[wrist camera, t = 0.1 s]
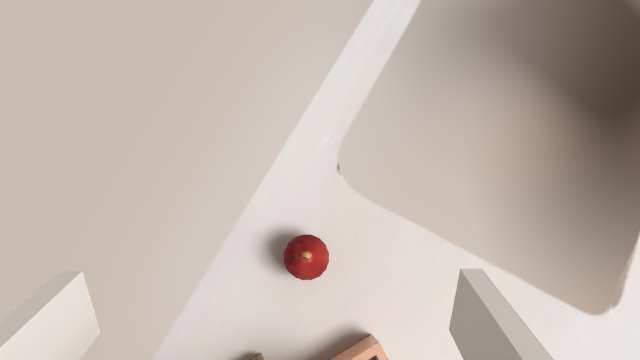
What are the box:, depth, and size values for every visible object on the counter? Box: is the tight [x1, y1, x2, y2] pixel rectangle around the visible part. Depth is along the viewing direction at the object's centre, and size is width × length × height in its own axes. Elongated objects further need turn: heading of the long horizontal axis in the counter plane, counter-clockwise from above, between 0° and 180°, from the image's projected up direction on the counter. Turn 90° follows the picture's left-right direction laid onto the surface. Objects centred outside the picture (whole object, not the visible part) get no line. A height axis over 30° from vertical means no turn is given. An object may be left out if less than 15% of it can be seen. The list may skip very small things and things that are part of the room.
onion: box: [284, 235, 329, 280], centre depth 43 cm, size 6×6×8 cm
